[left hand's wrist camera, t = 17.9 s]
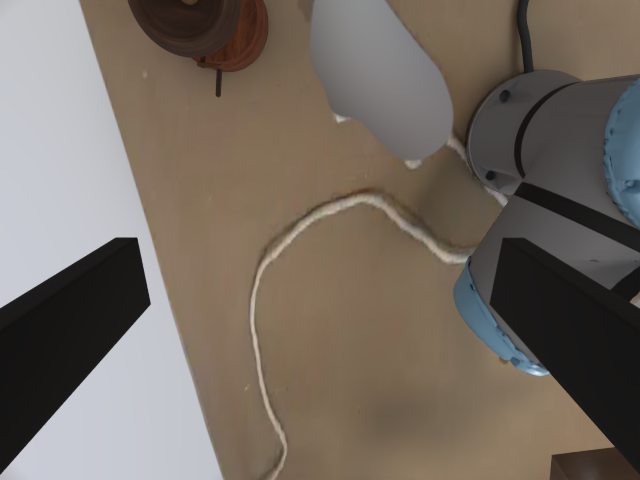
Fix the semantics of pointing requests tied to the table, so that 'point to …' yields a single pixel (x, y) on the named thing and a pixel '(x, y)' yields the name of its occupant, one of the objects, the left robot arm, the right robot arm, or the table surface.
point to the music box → (206, 30)
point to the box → (592, 466)
